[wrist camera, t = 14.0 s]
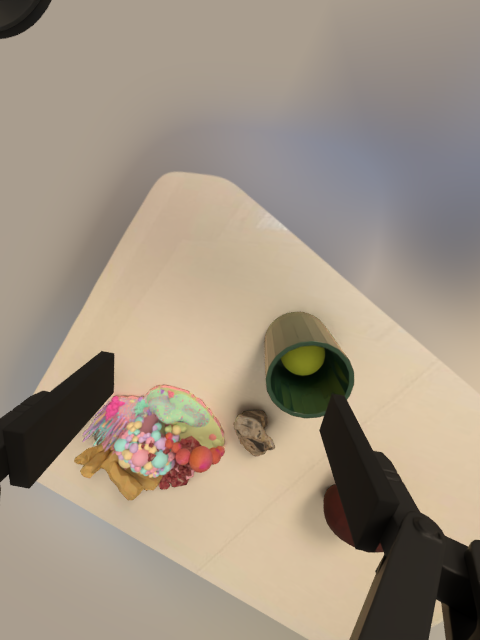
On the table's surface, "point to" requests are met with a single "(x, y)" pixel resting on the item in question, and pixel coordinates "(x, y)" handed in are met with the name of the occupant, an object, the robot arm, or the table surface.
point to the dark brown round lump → (338, 517)
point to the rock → (253, 432)
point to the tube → (309, 390)
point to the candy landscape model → (153, 440)
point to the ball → (304, 360)
